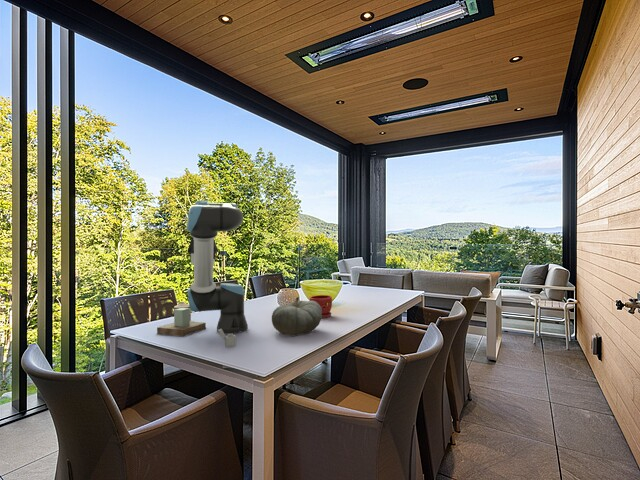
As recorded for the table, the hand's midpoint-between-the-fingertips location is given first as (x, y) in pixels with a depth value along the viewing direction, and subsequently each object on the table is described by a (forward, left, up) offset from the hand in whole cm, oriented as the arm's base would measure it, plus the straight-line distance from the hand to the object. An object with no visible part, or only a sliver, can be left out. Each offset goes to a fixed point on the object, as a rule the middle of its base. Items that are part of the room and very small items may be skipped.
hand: (202, 264), depth 199 cm
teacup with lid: (+8, +8, -32) cm, 34 cm away
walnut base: (-7, +24, -32) cm, 40 cm away
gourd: (-63, +8, -32) cm, 71 cm away
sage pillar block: (-7, +24, -29) cm, 38 cm away
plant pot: (-61, -30, -32) cm, 75 cm away
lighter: (-45, +39, -32) cm, 68 cm away
